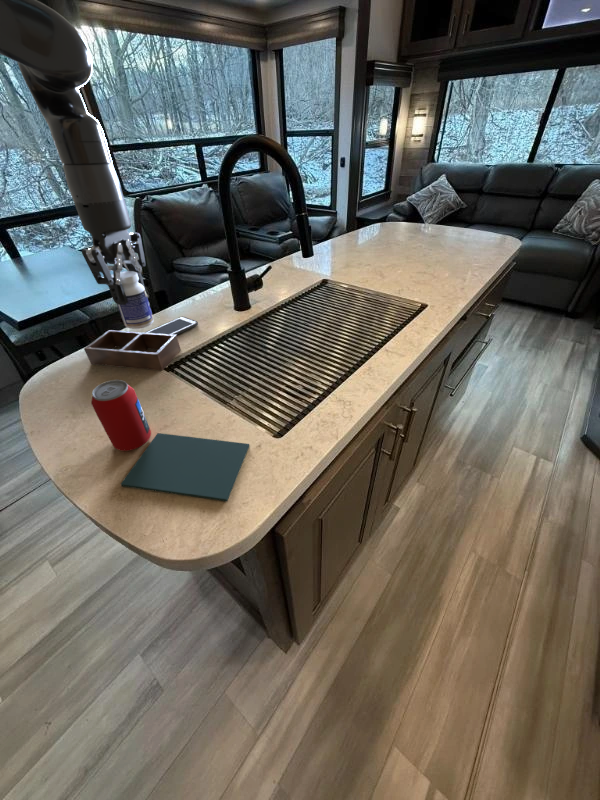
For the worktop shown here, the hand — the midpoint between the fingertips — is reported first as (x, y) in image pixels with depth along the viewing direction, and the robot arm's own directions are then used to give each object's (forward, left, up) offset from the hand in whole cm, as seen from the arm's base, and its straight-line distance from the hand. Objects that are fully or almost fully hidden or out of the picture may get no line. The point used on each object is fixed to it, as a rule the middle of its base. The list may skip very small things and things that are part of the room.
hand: (131, 297), depth 65 cm
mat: (+18, -23, -20) cm, 35 cm away
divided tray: (-11, +9, -20) cm, 25 cm away
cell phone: (-9, +24, -20) cm, 33 cm away
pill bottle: (0, 0, -6) cm, 6 cm away
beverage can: (+5, -19, -20) cm, 28 cm away
